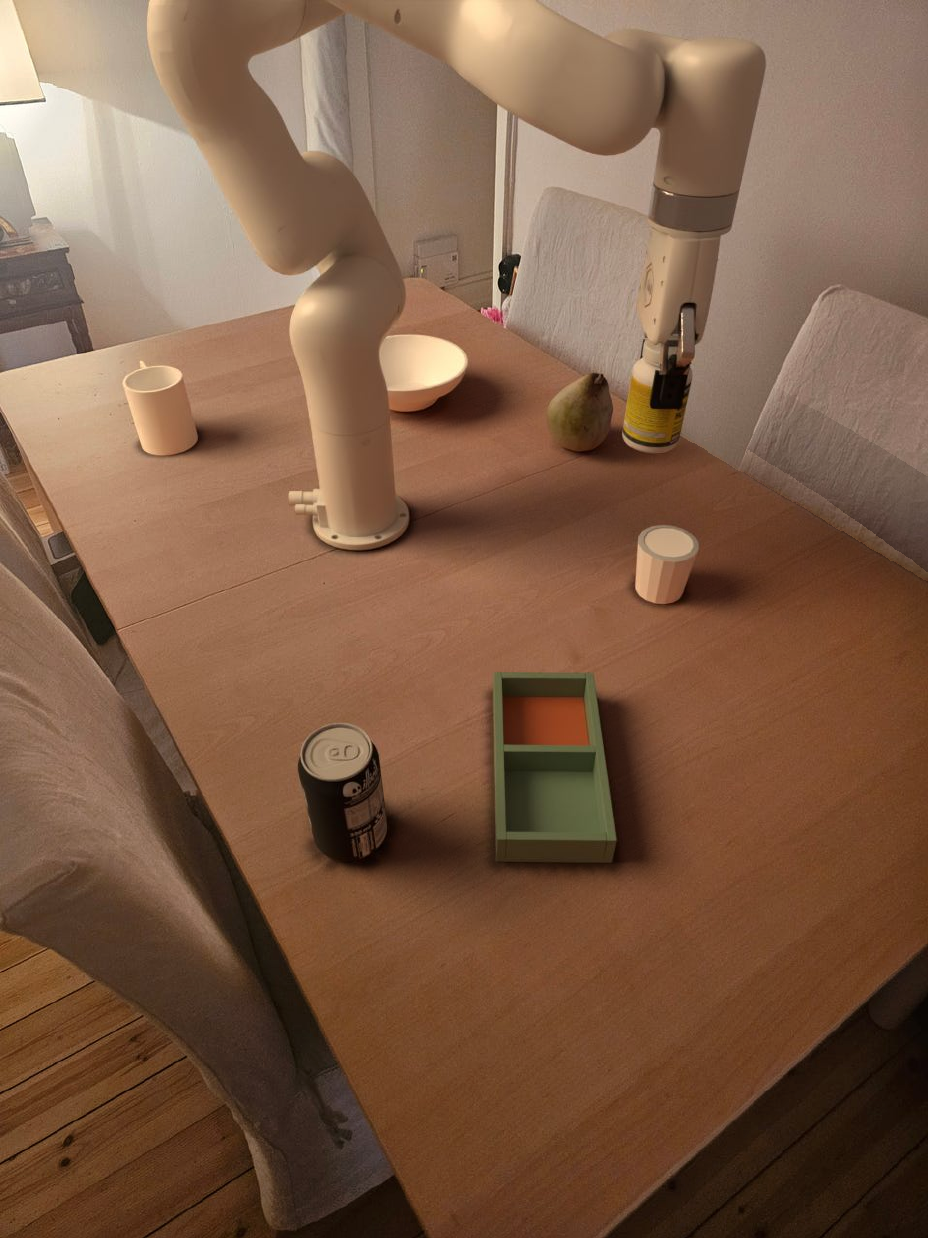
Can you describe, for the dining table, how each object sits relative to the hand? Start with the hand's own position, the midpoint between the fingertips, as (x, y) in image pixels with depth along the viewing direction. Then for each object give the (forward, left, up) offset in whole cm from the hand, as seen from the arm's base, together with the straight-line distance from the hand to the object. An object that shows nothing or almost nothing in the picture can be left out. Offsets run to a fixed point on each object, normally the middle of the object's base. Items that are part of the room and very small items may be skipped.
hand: (658, 389), depth 86 cm
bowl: (-30, +41, -24) cm, 56 cm away
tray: (-12, -32, -23) cm, 41 cm away
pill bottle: (0, 0, -6) cm, 6 cm away
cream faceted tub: (+3, -5, -24) cm, 24 cm away
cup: (-66, +30, -24) cm, 76 cm away
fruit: (-4, +28, -24) cm, 37 cm away
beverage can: (-30, -39, -24) cm, 54 cm away
